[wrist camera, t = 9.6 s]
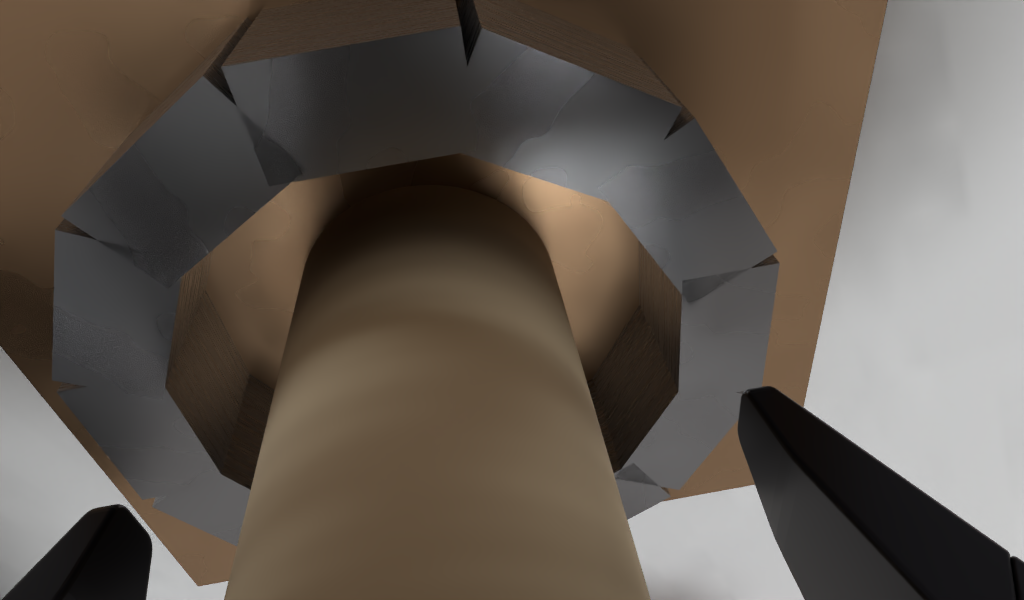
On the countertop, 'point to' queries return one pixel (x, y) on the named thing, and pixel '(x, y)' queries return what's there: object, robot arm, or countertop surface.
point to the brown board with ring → (410, 162)
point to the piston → (432, 422)
